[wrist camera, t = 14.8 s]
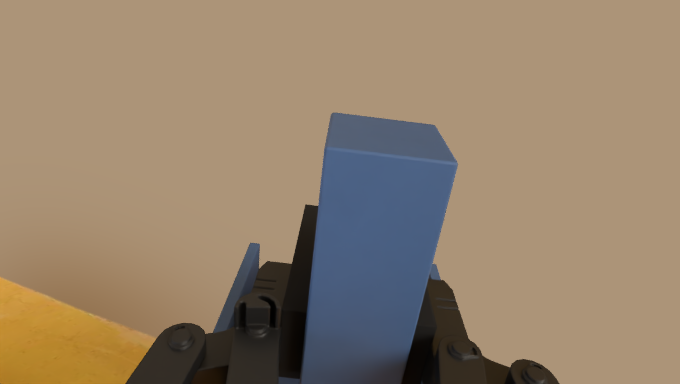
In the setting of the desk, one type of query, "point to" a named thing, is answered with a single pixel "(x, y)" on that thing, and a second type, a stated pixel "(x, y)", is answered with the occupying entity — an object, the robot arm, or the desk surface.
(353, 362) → the scoop
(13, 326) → the desk surface
